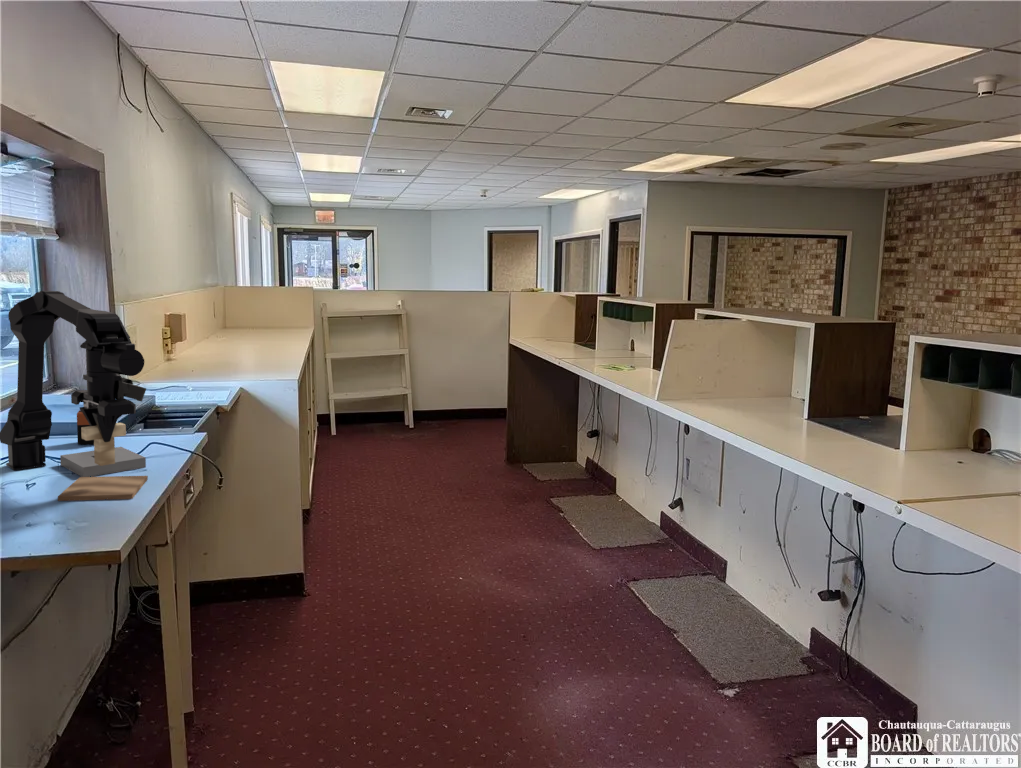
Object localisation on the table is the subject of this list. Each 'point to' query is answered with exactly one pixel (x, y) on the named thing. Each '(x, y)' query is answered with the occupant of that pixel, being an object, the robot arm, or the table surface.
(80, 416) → the battery
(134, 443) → the table surface
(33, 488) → the table surface
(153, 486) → the table surface
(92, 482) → the walnut pad
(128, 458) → the keyhole plate
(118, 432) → the t key
